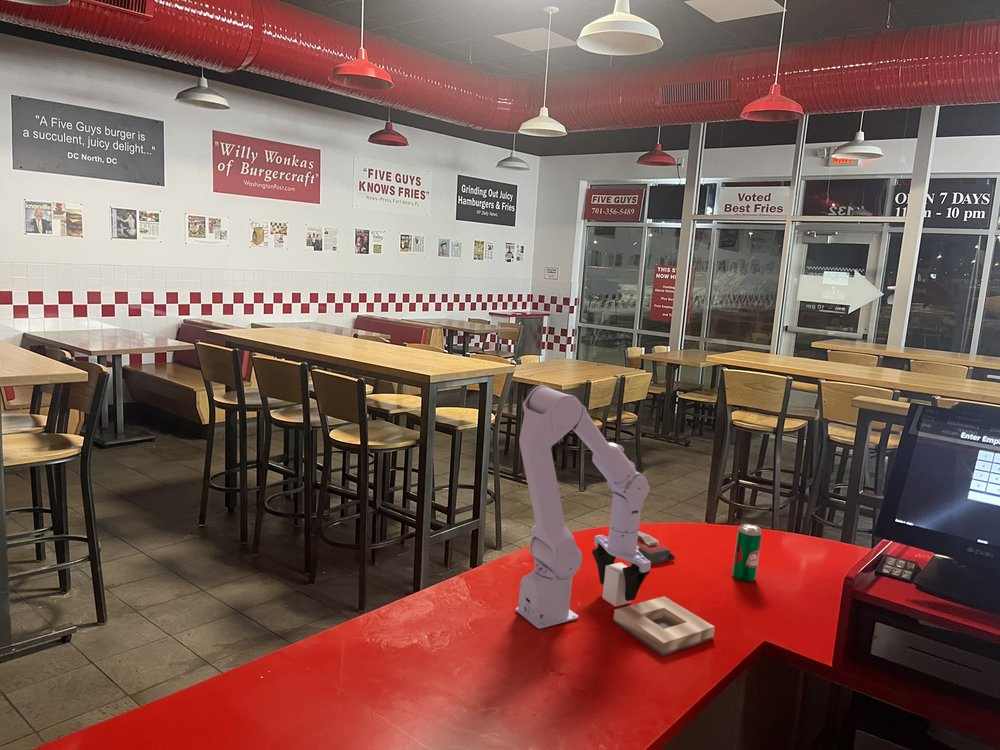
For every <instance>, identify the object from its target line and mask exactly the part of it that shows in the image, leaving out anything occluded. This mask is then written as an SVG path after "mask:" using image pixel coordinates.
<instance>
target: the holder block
mask: <svg viewBox="0 0 1000 750" xmlns="http://www.w3.org/2000/svg"><path fill="white" fill-rule="evenodd" d="M613 623H614V624H616V625H617V626H619V627H620V628H621V629H623V630H624V631H626V632H628V633H629V634H630V635H632V636H633V637H634V638H636V639H637V640H639V641H640V642H641V643H644V645H646V646H648V647H649V648H650V649H652V650H653V651H654V652H656V653H657V654H659V655H660V656H662V657H663V656H666V655H669V654H672V653H676V652H679V651H682V650H685V649H688V648H691V647H694V646H697V645H699V644H703V643H706V642H709V641H712V640H714V636H715V626H714V625H713V624H711V623H710V622H708V621H706V620H704V619H703V618H701V617H700V616H698V615H697V614H694V613H693V612H691V611H689V610H688V609H686V608H684V607H683V606H681V605H679V604H678V603H677V602H674V601H672V600H671V599H670V598H668V597H666V596H660V597H656V598H653V599H649V600H645V601H642V602H638V603H633V604H631V605H627V606H623V607H619V608H616V609H614V613H613Z"/></svg>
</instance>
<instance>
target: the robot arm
mask: <svg viewBox="0 0 1000 750" xmlns="http://www.w3.org/2000/svg"><path fill="white" fill-rule="evenodd" d="M522 408H523V413H524V415H523V418H522V419H523V420H522V425H521V429H520V434H519V438H518V441H519V448H520V454H521V457H522V463H523V468H524V469H523V470H524V473H525V478H526V482H527V486H528V492H529V498H530V503H531V507H532V512H533V517H534V521H535V524H534V525H533V526H532V527H531V528H530V530H529V531H530V542H529V553H530V555H531V556H532V558H534V560H533V561H534V563H533V564H534V569H533V570H532V571H531V572H529V573H527V574H526V575H525V574H524V576H522V578H521V580H520V582H519V595H518V606H517V607H516V608H515V611H516V612H517V613H518V614H519V615H521V616H522V617H523V618H524V619H525V620H527V621H528V622H529V623H530V624H531V625H533V626H534V627H535V628H537V629H538V630H541V629H544V628H548V627H551V626H555V625H558V624H563V623H566V622H570V621H574V620H577V619H579V615H578V614H576V613H575V612H574V611H572V610H571V609H570V607H571V606H570V605H571V595H572V584H573V577H575V575H576V573H577V572H578V571H579V569H580V568H581V566H582V563H583V553H582V551H581V549H580V548H579V547H578V545H577V544H576V540H575V537H574V535H573V533H572V532H571V530H570V529H569V528H568V526H567V524H566V522H565V521H566V520H565V516H564V510H563V506H562V500H561V495H560V490H559V484H558V480H557V479H558V478H557V475H556V468H555V462H554V458H553V457H554V456H553V453H552V447H553V446H554V445H555V444H557V443H558V442H559V441H560V440H561V439H563V438H564V437H565V435H567V434H568V433H569V432H570V431H573V432H574V433H575V434H576V435H577V436H578V438H579V439H580V440H581V441H582V442H583V443H584V444H585V445H586V446H587V448H588V449H589V450H590V451H591V452H592V457H591V461H592V463H593V464H594V466H595V467H596V468H597V469H598V471H599V472H600V473H601V474H602V475H603V477H604V478H605V479H606V480H607V481H606V483H607V484H606V485H607V488H608V490H611V492H612V500H611V509H610V518H609V519H610V520H609V530H608V536H605V535H603V534H598V535H595V536H594V541H593V544H594V546H596V548H594V549H592V551H591V554H592V556H593V558H594V560H595V563H596V567H597V572H598V577H599V583H600V585H601V586H604V578H605V568H606V565H611V564H615V561H616V558H618V559H621V560H623V561H625V562H627V563H629V564H630V566H628V567H625V568H623V573H624V577H625V600H626V601H634V600H636V598H637V595H638V592H639V589H641V588H640V587H641V586H642V583H643V582H644V581H645V579H646V577H648V575H649V574H650V572H651V565H652V564H651V562H650V561H649V560H647V559H646V558H645V557H644V556H643V555H642V554H641V553H640V552H639V551H638V550H639V546H637V539H638V530H639V528H640V520H641V512H642V509H643V508H644V502H645V499H647V497H648V495H649V493H650V490H651V486H649V481H648V478H647V477H646V475H645V474H643V473H641V472H639V471H637V470H636V464H635V462H633V461H632V460H629V458H628V457H627V456H626V454H625V453H624V451H625V448H624V446H622V445H621V444H618V443H615V442H611V441H610V442H609V441H607V439H606V438H605V437H604V435H603V434H602V432H601V431H600V428H598V426H597V425H596V423H595V422H594V420H593V418H592V417H591V415H590V414H589V413H588V410H587V407H586V406H585V405H584V404H582V403H581V401H580V399H579V398H577V396H575V395H572V394H567V393H564V392H561V391H558V390H556V389H553V388H552V387H549V386H548V385H539V386H536V387H534V388H533V389H532V390H531V391H530V392H529V394H528V396H527V397H526V398H525V400H524V401H523V402H522ZM639 531H640V530H639Z"/></svg>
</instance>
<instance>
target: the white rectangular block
mask: <svg viewBox="0 0 1000 750" xmlns="http://www.w3.org/2000/svg"><path fill="white" fill-rule="evenodd" d="M625 567H629V566H628V565H626V564H624V563H622V562H621V561H620V562H617V563H615V562H614V564H611V565H606V568H605V578H604V585H603V589H602V590H603V591H602V600H605V602H608V603H609V604H611V605H612V606H614V607H619V606H624V605H627V604H631V601H632V600H631V601H626V600H625V577H624V573H623V568H625Z"/></svg>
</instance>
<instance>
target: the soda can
mask: <svg viewBox="0 0 1000 750" xmlns="http://www.w3.org/2000/svg"><path fill="white" fill-rule="evenodd" d="M761 531H762V529H761V527H759V526H758V525H756V524H752V523H751V524H750V523H740V525H739V528H738V529H737V534H736V543H735V550H734V557H733V565H732V572H731V575H732V576H733V578H734V579H736V580H737V581H740V582H744V583H751V582H752V583H753V582H754V581H755V580H756V578H757V574H758V573H757V572H758V565H759V557H760V550H761V543H762V536H763V534H762V532H761Z"/></svg>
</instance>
